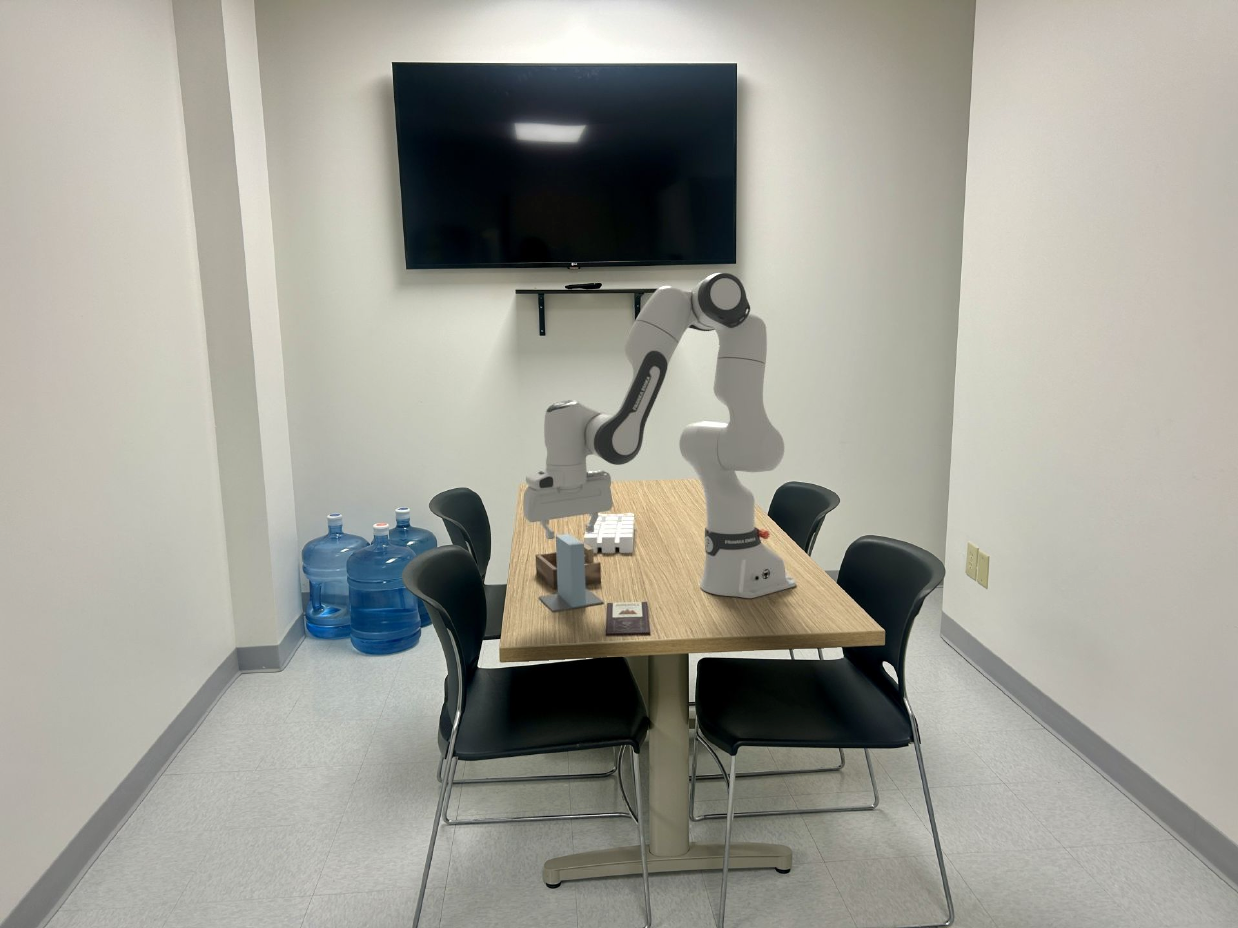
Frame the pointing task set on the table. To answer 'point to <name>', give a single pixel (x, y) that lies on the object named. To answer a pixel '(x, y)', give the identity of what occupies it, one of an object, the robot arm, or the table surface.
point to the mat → (559, 603)
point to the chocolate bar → (627, 619)
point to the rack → (548, 570)
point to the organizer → (612, 533)
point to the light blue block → (571, 570)
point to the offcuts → (588, 554)
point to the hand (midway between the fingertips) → (570, 535)
